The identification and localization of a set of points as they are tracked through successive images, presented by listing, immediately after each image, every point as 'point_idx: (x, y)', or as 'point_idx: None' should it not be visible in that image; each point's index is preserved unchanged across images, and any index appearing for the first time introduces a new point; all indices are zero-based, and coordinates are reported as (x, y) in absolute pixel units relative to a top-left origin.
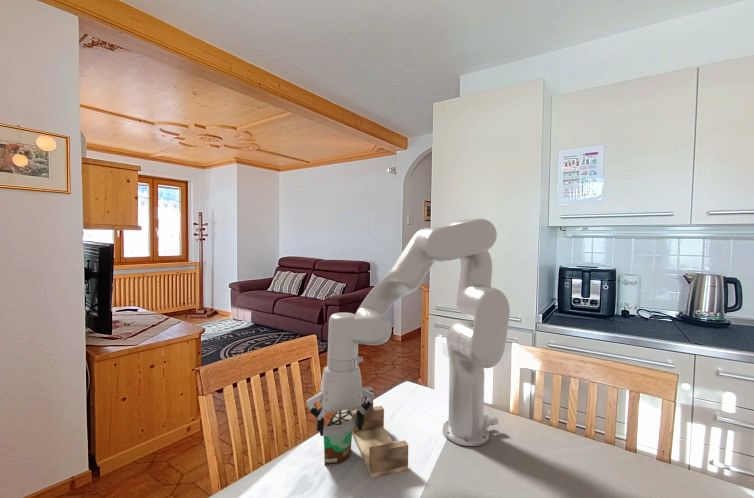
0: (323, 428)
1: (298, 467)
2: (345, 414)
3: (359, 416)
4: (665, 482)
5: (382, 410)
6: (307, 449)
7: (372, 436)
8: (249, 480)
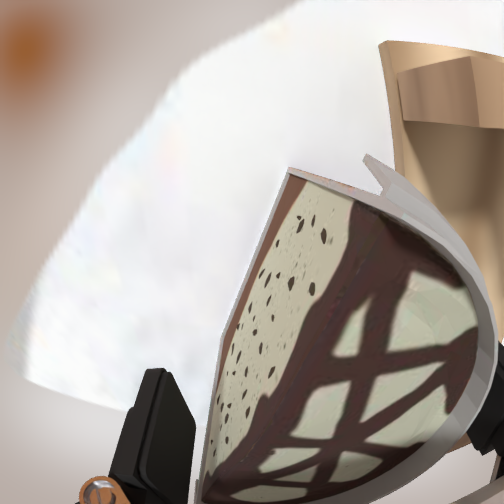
0: (188, 464)
1: (115, 331)
2: (413, 387)
3: (476, 449)
4: None
5: None
6: (121, 214)
7: (481, 189)
8: (10, 348)
